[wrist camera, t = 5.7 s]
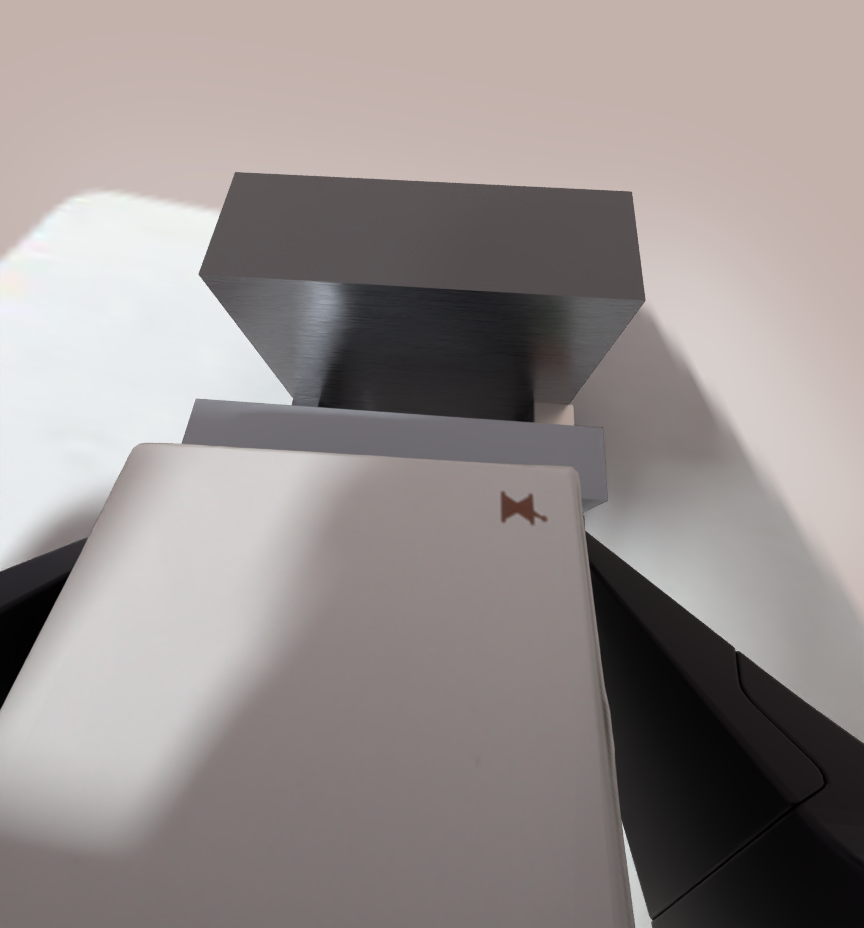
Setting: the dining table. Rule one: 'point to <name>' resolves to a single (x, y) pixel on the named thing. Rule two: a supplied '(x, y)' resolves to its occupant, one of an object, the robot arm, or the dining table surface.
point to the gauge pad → (403, 437)
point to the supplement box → (317, 704)
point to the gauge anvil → (427, 291)
